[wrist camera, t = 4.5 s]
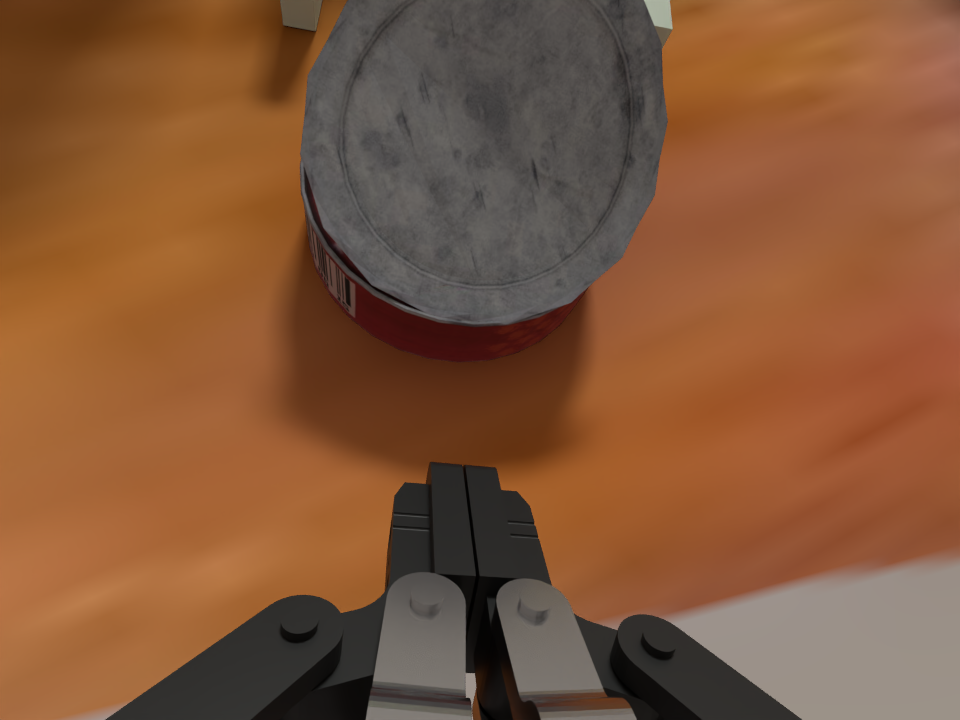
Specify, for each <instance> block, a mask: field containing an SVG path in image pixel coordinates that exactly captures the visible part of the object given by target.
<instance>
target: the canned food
mask: <svg viewBox="0 0 960 720" xmlns="http://www.w3.org/2000/svg"><path fill="white" fill-rule="evenodd" d="M667 123H668V120H667V113H666V105H665V98H664V90H663V75H662V44H661V41H660V39H659V36H658V34H657V31H656V29H655V26H654V24H653V21H652V19H651V16H650V14H649V11H648V9H647V6H646V4H645V1H644V0H348V1H347V2H346V4H345V6H344V8H343V10H342V12H341V14H340V16H339V18H338V20H337V22H336V24H335V26H334V28H333V30H332V32H331V34H330V36H329V38H328V40H327V42H326V44H325V46H324V47H323V49H322V51H321V53H320V55H319V56H318V58H317V60H316V62H315V63H314V65H313V67H312V69H311V71H310V72H309V74H308V80H307V93H306V105H305V117H304V126H303V135H302V144H301V152H300V155H301V163H300V181H301V195H302V198H303V202H304V209H305V216H306V223H307V231H308V238H309V247H310V250H311V254H312V257H313V261H314V264H315V267H316V271H317V273H318V275H319V276H320V278H321V280H322V282H323V284H324V285H325V287H326V289H327V291H328V293H329V295H330V296H331V297H332V298H333V299H334V301H335V302H336V303H337V304H338V305H339V306H340V308H341V309H342V310H343V311H344V312H345V313H346V315H347V316H348V317H349V318H351V319H352V320H353V321H354V322H356V323H357V324H358V325H359V326H361V327H362V328H363V329H364V330H366V331H367V332H368V333H370V334H371V335H372V336H374V337H376V338H378V339H380V340H382V341H384V342H386V343H387V344H389V345H391V346H393V347H395V348H397V349H399V350H402V351H405V352H408V353H412V354H415V355H418V356H421V357H425V358H428V359H435V360H444V361H452V362H471V361H487V360H492V359H496V358H499V357H503V356H507V355H511V354H514V353H517V352H519V351H521V350H523V349H525V348H527V347H529V346H531V345H533V344H535V343H537V342H539V341H541V340H542V339H543V338H545V337H546V336H547V335H548V334H550V333H551V332H552V331H553V330H555V329H556V328H557V327H558V326H560V324H561V323H562V322H563V321H564V319H565V318H566V317H567V316H568V314H569V313H570V312H571V311H572V309H573V308H574V307H575V305H576V304H577V302H578V301H579V300H580V298H581V297H582V295H583V294H584V293H585V291H586V290H587V289H588V287H589V286H590V285H591V284H592V283H593V282H594V281H595V280H596V279H598V278H599V277H600V276H601V275H602V274H603V273H605V272H606V271H607V270H608V269H609V268H610V267H612V266H613V265H614V264H615V263H616V262H618V261H619V260H620V259H621V258H622V257H623V255H624V253H625V250H626V248H627V246H628V244H629V242H630V240H631V238H632V236H633V234H634V232H635V230H636V228H637V226H638V224H639V222H640V220H641V219H642V217H643V215H644V213H645V211H646V210H647V208H648V206H649V204H650V203H651V201H652V199H653V197H654V195H655V189H656V181H657V174H658V167H659V159H660V155H661V150H662V146H663V141H664V136H665V132H666V127H667Z"/></svg>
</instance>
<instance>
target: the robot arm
mask: <svg viewBox="0 0 960 720" xmlns="http://www.w3.org/2000/svg"><path fill="white" fill-rule="evenodd" d="M465 673H475V677H476V687H477V688H476V692H475V696H474V701H473V706H472V708H471V700H470V698H466V694H465ZM472 714H473V720H802V719H800V718H799V717H798V716H796V715H795V714H794V713H792V712H791V711H790V710H788V709H787V708H786V707H784V706H783V705H782V704H780V703H779V702H777V701H776V700H775V699H773V698H772V697H771V696H769V695H768V694H766V693H765V692H764V691H763V690H761V689H760V688H759V687H757V686H756V685H755V684H753V683H752V682H750V681H749V680H748V679H746V678H745V677H744V676H742V675H741V674H740V673H738V672H737V671H736V670H734V669H733V668H732V667H730V666H729V665H727V664H726V663H725V662H723V661H722V660H721V659H719V658H718V657H717V656H715V655H714V654H713V653H711V652H710V651H709V650H707V649H706V648H704V647H703V646H702V645H700V644H699V643H698V642H696V641H695V640H694V639H692V638H691V637H690V636H688V635H687V634H686V633H684V632H683V631H681V630H680V629H679V628H677V627H676V626H674V625H673V624H671V623H670V622H668V621H666V620H664V619H661V618H659V617H655V616H651V615H633V616H630V617H628V618H626V619H624V620H623V621H622V622H621V624H620V626H619V628H618V630H615V629H612V628H608V627H605V626H602V625H599V624H596V623H593V622H590V621H587V620H585V619H583V618H581V617H579V616H577V615H575V614H574V613H573V611H572V608H571V606H570V604H569V602H568V600H567V599H566V598H565V596H564V595H563V594H562V593H561V592H560V591H559V590H557V589H556V588H554V587H553V586H552V585H551V581H550V577H549V574H548V570H547V566H546V563H545V559H544V556H543V552H542V548H541V545H540V541H539V539H538V534H537V530H536V527H535V526H534V519H533V516H532V512H531V508H530V506H529V505H528V504H527V502H526V501H525V500H524V499H523V498H522V497H521V495H520V494H519V493H518V492H517V491H505V490H501V487H500V483H499V478H498V473H497V469H496V468H495V467H483V466H472V465H464V466H462V465H459V464H448V463H437V462H430V463H429V467H428V473H427V480H426V484H419V483H406V482H405V483H404V484H403V486H402V487H401V488H400V489H399V491H398V492H397V493H396V495H395V497H394V504H393V512H392V520H391V527H390V535H389V543H388V550H387V565H386V580H385V592H384V594H383V595H382V596H381V597H380V598H379V599H377V600H376V601H375V602H373V603H372V604H370V605H368V606H366V607H363V608H361V609H357V610H354V611H349V612H344V613H340V611H339V610H338V609H337V608H336V607H335V606H334V605H333V604H332V603H330V602H329V601H327V600H325V599H323V598H320V597H316V596H311V595H296V596H290V597H287V598H283V599H281V600H278V601H276V602H274V603H273V604H271V605H270V606H268V607H267V608H265V609H264V610H262V611H261V612H259V613H258V614H257V615H255V616H254V617H252V618H251V619H249V620H248V621H247V622H245V623H244V624H242V625H241V626H239V627H238V628H236V629H235V630H234V631H232V632H231V633H229V634H228V635H226V636H225V637H224V638H222V639H221V640H219V641H218V642H216V643H215V644H213V645H212V646H211V647H209V648H208V649H206V650H205V651H203V652H202V653H201V654H199V655H198V656H196V657H195V658H193V659H192V660H190V661H189V662H188V663H186V664H185V665H183V666H182V667H180V668H179V669H178V670H176V671H175V672H173V673H172V674H170V675H169V676H167V677H166V678H165V679H163V680H162V681H160V682H159V683H157V684H156V685H155V686H153V687H152V688H150V689H149V690H147V691H146V692H144V693H143V694H142V695H140V696H139V697H137V698H136V699H134V700H133V701H132V702H130V703H129V704H127V705H126V706H124V707H123V708H121V709H120V710H119V711H117V712H116V713H114V714H113V715H111V716H110V717H109V718H107V719H106V720H472Z"/></svg>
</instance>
